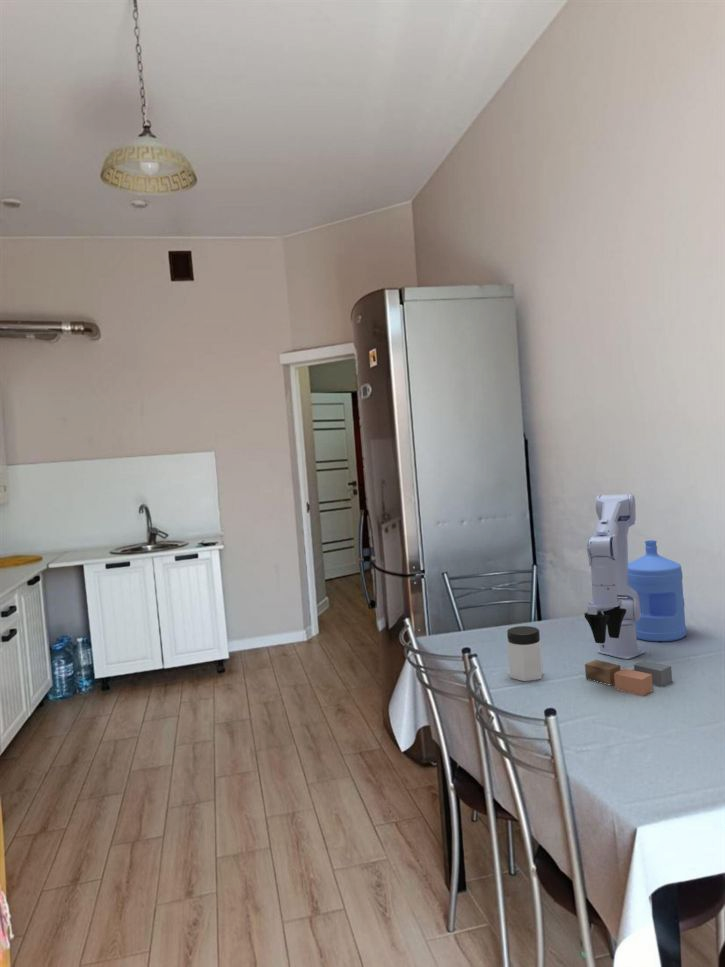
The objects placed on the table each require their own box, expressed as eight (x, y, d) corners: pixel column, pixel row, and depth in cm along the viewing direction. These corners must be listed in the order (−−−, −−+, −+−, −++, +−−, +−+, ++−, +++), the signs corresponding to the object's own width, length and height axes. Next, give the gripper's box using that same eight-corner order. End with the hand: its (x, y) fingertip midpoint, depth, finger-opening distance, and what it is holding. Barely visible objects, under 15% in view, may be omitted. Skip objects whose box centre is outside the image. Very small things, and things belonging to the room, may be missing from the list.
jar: (513, 669, 177) (509, 625, 177) (544, 670, 174) (541, 625, 174) (508, 681, 169) (504, 634, 168) (540, 682, 166) (536, 635, 165)
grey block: (635, 680, 162) (633, 664, 161) (645, 675, 164) (644, 660, 164) (662, 687, 156) (661, 670, 156) (672, 682, 159) (671, 665, 158)
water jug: (643, 625, 207) (636, 536, 206) (695, 631, 195) (688, 538, 194) (619, 637, 196) (612, 544, 195) (673, 645, 185) (666, 546, 183)
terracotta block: (615, 690, 157) (613, 673, 157) (624, 684, 160) (623, 668, 160) (643, 696, 152) (642, 679, 151) (653, 691, 154) (651, 674, 154)
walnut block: (586, 679, 165) (584, 664, 165) (597, 675, 168) (596, 659, 168) (610, 686, 160) (609, 670, 159) (621, 681, 162) (620, 665, 162)
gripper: (602, 581, 171) (605, 633, 170) (574, 587, 161) (577, 643, 160) (628, 582, 166) (632, 636, 165) (602, 588, 156) (605, 646, 155)
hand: (607, 640), depth 162 cm, fingers open, 7 cm apart
